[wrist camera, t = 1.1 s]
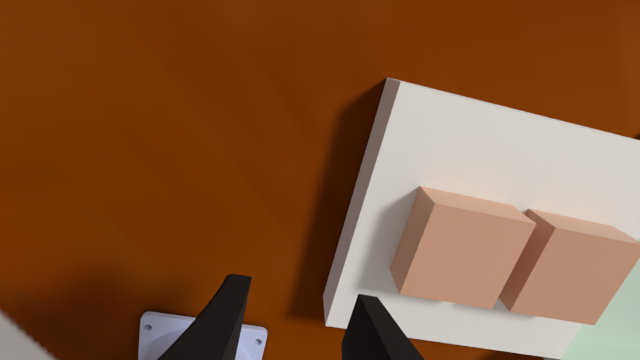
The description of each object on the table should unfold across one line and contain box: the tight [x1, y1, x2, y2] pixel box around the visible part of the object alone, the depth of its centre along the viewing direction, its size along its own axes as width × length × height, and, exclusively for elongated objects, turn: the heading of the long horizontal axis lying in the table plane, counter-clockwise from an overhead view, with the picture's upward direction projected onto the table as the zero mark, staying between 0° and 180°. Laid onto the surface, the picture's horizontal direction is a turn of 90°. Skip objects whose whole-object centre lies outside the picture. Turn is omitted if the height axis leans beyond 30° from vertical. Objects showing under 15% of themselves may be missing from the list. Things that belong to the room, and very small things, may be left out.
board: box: [323, 77, 640, 359], centre depth 19 cm, size 14×16×2 cm
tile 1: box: [498, 208, 640, 325], centre depth 17 cm, size 5×5×2 cm
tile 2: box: [390, 186, 536, 309], centre depth 17 cm, size 5×5×2 cm
